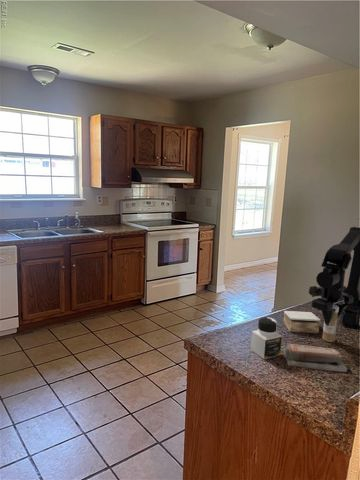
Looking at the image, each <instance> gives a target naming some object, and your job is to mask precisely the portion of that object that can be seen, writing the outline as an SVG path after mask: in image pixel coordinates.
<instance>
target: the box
mask: <svg viewBox="0 0 360 480" xmlns="http://www.w3.org/2000/svg"><path fill="white" fill-rule="evenodd" d="M283 324H284V325H285V327H287V329H288V330H289V332H290V333H307V334H319V331H320V330H319V329H320V321H305V320H291V319H290V318H289V317H288V316H287V315H286V314H285V313H284V312H283Z"/></svg>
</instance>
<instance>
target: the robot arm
mask: <svg viewBox="0 0 360 480" xmlns="http://www.w3.org/2000/svg"><path fill="white" fill-rule="evenodd" d="M352 252H353V255H352ZM350 264H351V265H350ZM320 266H321V267H322V268H323V269H322V271H320V272H319V273H318V274H317V275H316V278H315V279H316V283H317V285H318V286H316V285H314V286H313V285H312V286H309V289H308V294H309V295H310V296H311V297H312V298H314V299H313V300H311V304H310V305H311V308H314V309H317V310H319V311H321V312H322V317H323V321H325V324H326V325H329V323H330V321H331V319H332V317H333V315H334V313H335V311H336V309H333V305H337V306H338V307H339V312H338V316H337V320H338V319H339V320H338V322H339V323H340V324H341V325H342V326H343V327H344V328H351V329H352V328H353V329H354V328H355V329H360V227H359V226H358V227H357V226H352V227H350V228H349V231H348V232H347V234H346V235H345V236H344V237H343V238H342V240H341V241H340V243H338V244H334V245H332V246H330V247H329V248H328V250H327V251H326V252H325V255H324V258H323V260H322V262H321V265H320ZM349 266H350V270H349V275H348V276H349V277H348V280H347V281H348V283H347V286H346V285H344V284H345V278H346V277H345V276H346V270H347V269H348V268H349ZM315 297H318V298H315Z"/></svg>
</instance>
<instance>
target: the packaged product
mask: <svg viewBox="0 0 360 480" xmlns="http://www.w3.org/2000/svg"><path fill="white" fill-rule="evenodd" d="M283 352H284V356H285V359H286V363H287V366H290V367H297V368H298V367H299V368H305V369H315V370H321V371H322V370H323V371H332V372H342V373H347V371H348V367H346V364H344V362H343V361H342V360H343V358H342V357H343V356H342V355H341V353H340V352H339V351H338V350H337V349H334V348H329V347H320V346H311V345H306V344H305V345H303V344H302V345H301V344H297V343H287V345H286V346H285V348H284V349H283Z"/></svg>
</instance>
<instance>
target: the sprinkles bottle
mask: <svg viewBox="0 0 360 480" xmlns="http://www.w3.org/2000/svg"><path fill="white" fill-rule="evenodd" d="M333 309H336V311H335V313H334V315H333V317H332V319H331V321H330V323H329V325H326V324H325V321H324V320H323V321H324V322H323V328H322V329H323V331H322V338H321V339H322V340H323V341H325V342H327V343H333V342H335V341H336V333H337V325H338V319H337V316H338V312H339V307H338V306H337V305H333Z"/></svg>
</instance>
